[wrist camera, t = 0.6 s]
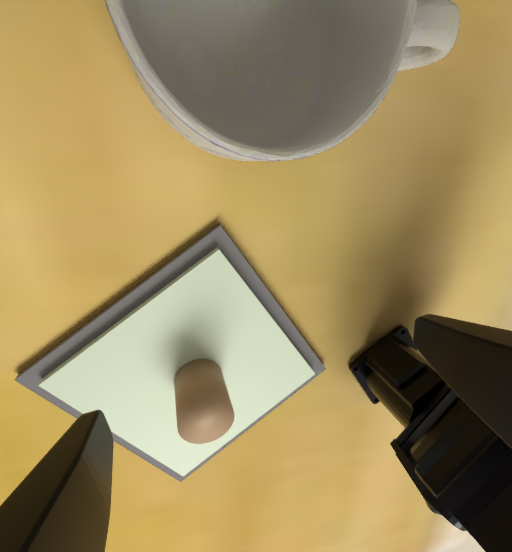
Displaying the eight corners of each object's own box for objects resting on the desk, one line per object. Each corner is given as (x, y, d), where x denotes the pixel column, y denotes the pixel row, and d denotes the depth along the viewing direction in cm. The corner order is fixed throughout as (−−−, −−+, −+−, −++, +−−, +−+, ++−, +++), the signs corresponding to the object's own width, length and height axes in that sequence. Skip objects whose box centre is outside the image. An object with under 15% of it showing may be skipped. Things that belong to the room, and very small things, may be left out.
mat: (323, 365, 26) (325, 368, 26) (180, 476, 26) (180, 481, 26) (219, 223, 19) (220, 225, 19) (17, 374, 19) (14, 380, 18)
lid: (312, 369, 26) (341, 409, 21) (182, 469, 25) (187, 530, 21) (217, 246, 19) (233, 270, 15) (41, 379, 19) (9, 440, 15)
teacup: (112, 132, 16) (75, 110, 9) (132, -140, 13) (100, -529, 5) (330, 188, 21) (421, 204, 14) (384, 3, 18) (540, -104, 10)
